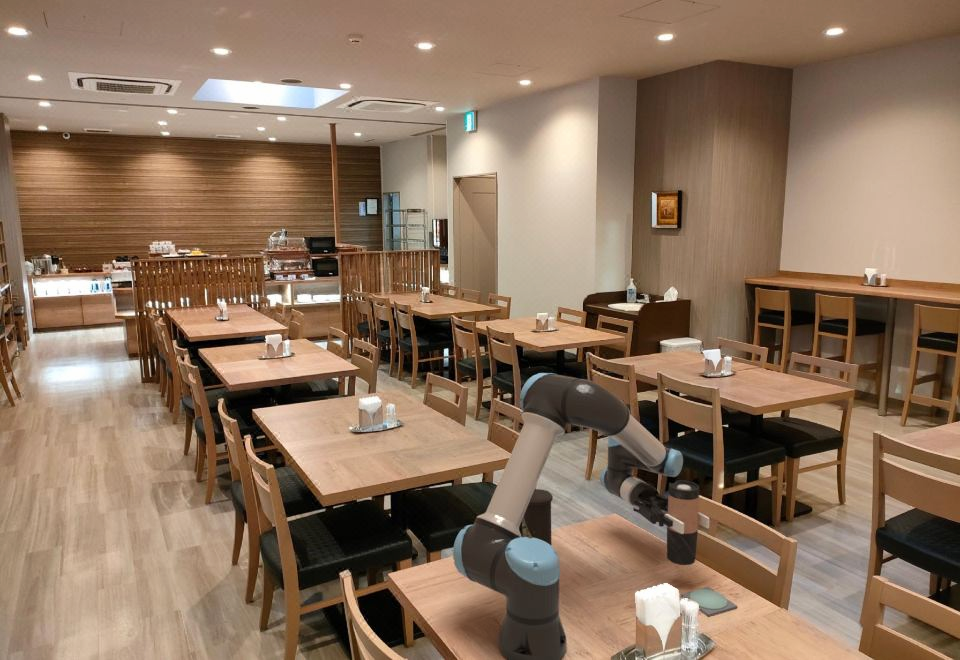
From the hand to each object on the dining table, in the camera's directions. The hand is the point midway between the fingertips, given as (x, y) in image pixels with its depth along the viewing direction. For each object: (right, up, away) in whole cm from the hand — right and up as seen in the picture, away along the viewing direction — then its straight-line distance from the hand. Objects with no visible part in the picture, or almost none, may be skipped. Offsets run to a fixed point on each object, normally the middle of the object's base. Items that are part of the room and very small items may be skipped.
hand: (695, 525), depth 171 cm
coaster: (+3, -18, -2) cm, 19 cm away
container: (-38, -16, +20) cm, 46 cm away
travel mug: (-2, -10, +6) cm, 12 cm away
